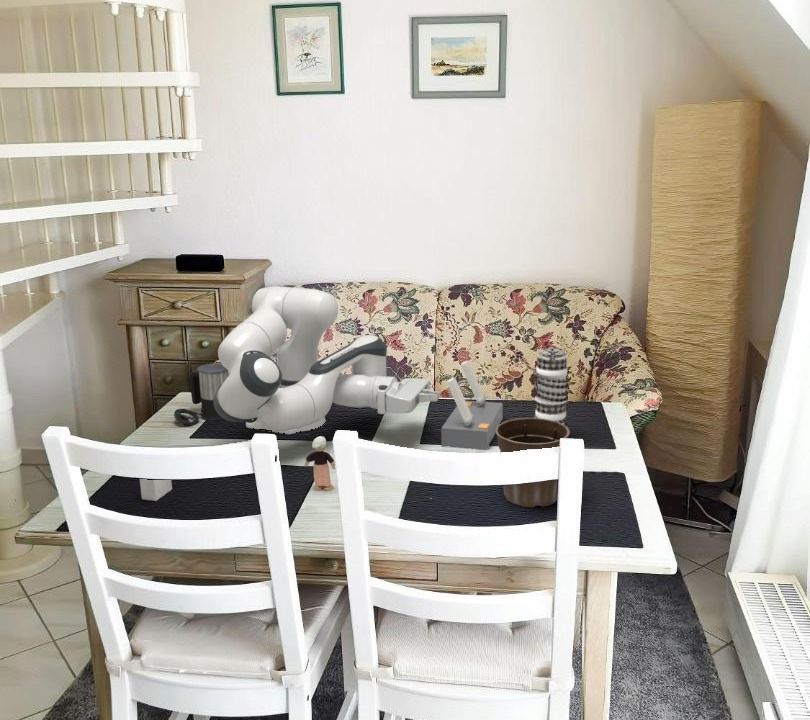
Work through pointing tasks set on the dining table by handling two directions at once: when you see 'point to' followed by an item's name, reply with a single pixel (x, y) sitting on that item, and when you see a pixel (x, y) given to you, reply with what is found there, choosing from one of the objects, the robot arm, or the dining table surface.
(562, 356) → the decorative candle
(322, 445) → the grandmother figurine
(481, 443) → the switch unit
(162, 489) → the light grey rectangular block
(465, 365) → the switch lever
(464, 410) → the switch lever
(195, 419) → the milk frother
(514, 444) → the plant pot
